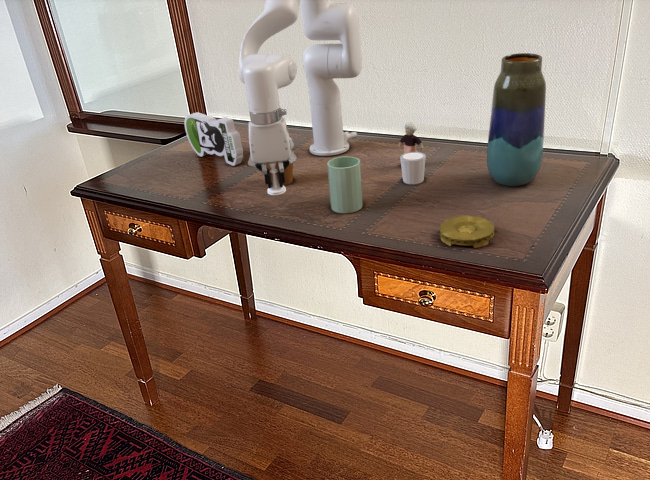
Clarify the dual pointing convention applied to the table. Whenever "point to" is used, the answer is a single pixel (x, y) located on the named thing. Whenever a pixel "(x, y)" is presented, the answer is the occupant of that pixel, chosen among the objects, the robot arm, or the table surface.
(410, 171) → the shot glass
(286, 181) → the disposable coffee cup
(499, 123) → the vase
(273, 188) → the chess piece
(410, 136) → the grandmother figurine
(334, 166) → the tube
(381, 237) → the table surface
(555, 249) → the table surface
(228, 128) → the cutout
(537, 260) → the table surface
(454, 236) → the compass
